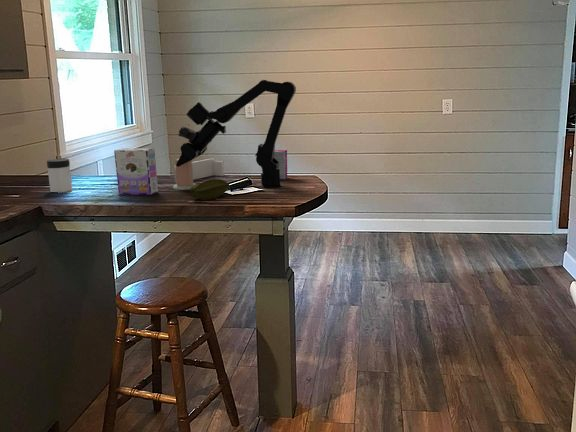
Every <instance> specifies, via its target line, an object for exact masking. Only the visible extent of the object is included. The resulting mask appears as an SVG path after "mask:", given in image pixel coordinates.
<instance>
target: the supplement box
mask: <svg viewBox="0 0 576 432" xmlns="http://www.w3.org/2000/svg"><path fill="white" fill-rule="evenodd" d="M274 158H275V159H276V160H277V161H278V162H279V163H280V164H279V167H278V168H277V169H279V170H280V181H285V180H286V179H288V149H275V152H274Z"/></svg>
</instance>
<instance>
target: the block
mask: <svg viewBox="0 0 576 432" xmlns="http://www.w3.org/2000/svg"><path fill="white" fill-rule="evenodd" d="M179 158H180V157H178V158H177V159H175V160H174V161H175V162H174V163H175V166H176V164H177V162H178V160H179ZM192 162H193V160H191V161H189V162H187V163H185V164H183V165H181V166H179V167H177V166H176V178H177V183H176V184H177V187H178V186H191V185H193V183H194V180H193V171H192Z"/></svg>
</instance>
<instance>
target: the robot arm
mask: <svg viewBox="0 0 576 432" xmlns="http://www.w3.org/2000/svg"><path fill="white" fill-rule="evenodd" d="M265 92H267V93H271V94H272V93H273V94H277V98H276V99H277V100H276V107H275V108H274V109H275V110H274V113H273V116H272V119H271V122H270V125H269V128H268V131H267V134H266V137H265V140H264V142H263V143H260V144H258V146H257V151H256V153H255V155H254V156H255V157H256V158H255V162H256V164H257V165H258V166H260V168H261V171H262V172H261V173H260V185H261V186H262V187H263V189H264V188H265V189H266V188H280V187H282V185H281V180H280V170H279V169H277V168H278V167H279V164H280V163H279V162H278V161H277V160H276V159H275V158H274V152H275V150H276V142H277V139H278V136H279V133H280V130H281V127H282V125H283V124H282V123H283V120H284V119H285V114H286V111H287V109H288V107H289V105H290V103H291V101H292V100H293V99H294V96H295V94H296V93H297V88H296V86H295V84H294V83H293V82H292V81H283V82H275V81H271V80H268V79H262V80H260V81H259V82H258V83H257V84H256V85H254V86H253V87H252V88H250V89H249V90H248V91H246V92H244V93H243V94H242V95H240V96H239V97H237V98H236V99H235V100H233V101H231V102H230V103H226V104H225V105H223V106H221V107H219V108H216V110H215V111H209V110H208V109H207V108H205V106H204V105H203V103H201V102H197V103H196V104H195V105H194V106H192V107H191V108H190V109H189V110H188V111H187V113H186V116H187V117H188V118H189V119H190V120H191V121H192V122H193V123H194V124H196V125H197V126H202V127H201V128H200V129H199V130H198V131H195V130H193V129H191V128H189V127H186V126H182V127H181V126H180V130H179V131H178V136H179V137H181V138H184V139H186V140H188V142H184V143H183V144H182V145H181V146H180V152H181V153H180V156H179V157H178V158H179V160H178V162H177V164H176V166H177V167H179V166H181V165H183V164H185V163H187V162H189V161H191V160H192V161H193V160H195V159H196V158H198V157H200V156H202V155H203V154H204V153H206V151H207V150H208V145H209V144H211V143H212V141H213V140H214V138H215V137H216V136H217V135H219V133H220V132H221V134H225V133H227V129H226V128H227V126H226V125H222V124H226V123H228V122H230V121H232V119H234V117H236V115H237V114H238V113H239V112H240V110H241V109H243V108H245V106H247V105H249V104H251V102H253V101H254V100H255V99H256V98H259V96H261V95H262V94H264V93H265ZM214 120H215V121H214Z"/></svg>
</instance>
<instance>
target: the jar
mask: <svg viewBox="0 0 576 432" xmlns="http://www.w3.org/2000/svg"><path fill="white" fill-rule="evenodd" d="M70 165H71V164H70V158H53V159H48V160H46V167H47V171H48V172H47V173H48V183H49V190H50V193H51V192H58V193H59V194H61V193H62V192H63V193H67V192H72V191H73V185H72V183H73V182H72V181H73V180H72V173H71V169H70V167H71V166H70ZM58 193H57V194H58ZM63 193H62V194H63Z"/></svg>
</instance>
